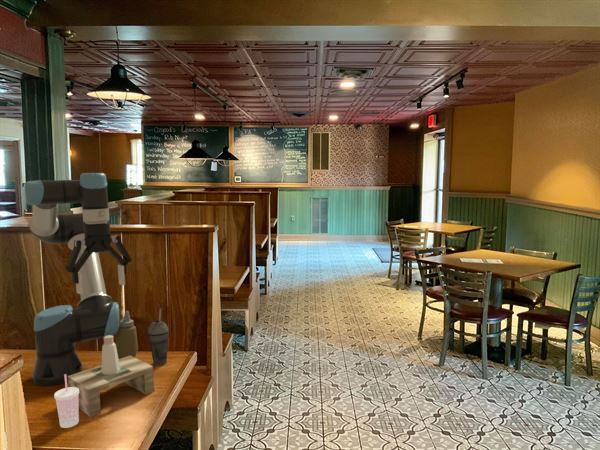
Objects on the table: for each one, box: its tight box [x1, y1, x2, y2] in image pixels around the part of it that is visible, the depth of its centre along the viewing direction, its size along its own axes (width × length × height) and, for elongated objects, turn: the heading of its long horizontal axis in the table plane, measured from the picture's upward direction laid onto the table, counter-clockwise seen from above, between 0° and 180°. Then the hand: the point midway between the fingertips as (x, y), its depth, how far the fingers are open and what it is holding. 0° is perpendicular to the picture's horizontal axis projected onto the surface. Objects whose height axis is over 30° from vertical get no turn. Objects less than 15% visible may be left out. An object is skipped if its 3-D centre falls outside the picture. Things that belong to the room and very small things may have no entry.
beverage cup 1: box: [53, 374, 80, 429], centre depth 125 cm, size 6×6×14 cm
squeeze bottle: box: [115, 310, 139, 359], centre depth 168 cm, size 8×8×18 cm
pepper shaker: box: [101, 335, 120, 375], centre depth 139 cm, size 5×5×11 cm
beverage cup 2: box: [147, 308, 170, 367], centre depth 164 cm, size 7×7×20 cm
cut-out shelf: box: [67, 356, 155, 418], centre depth 140 cm, size 14×20×8 cm
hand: (101, 289), depth 145 cm, fingers open, 13 cm apart
